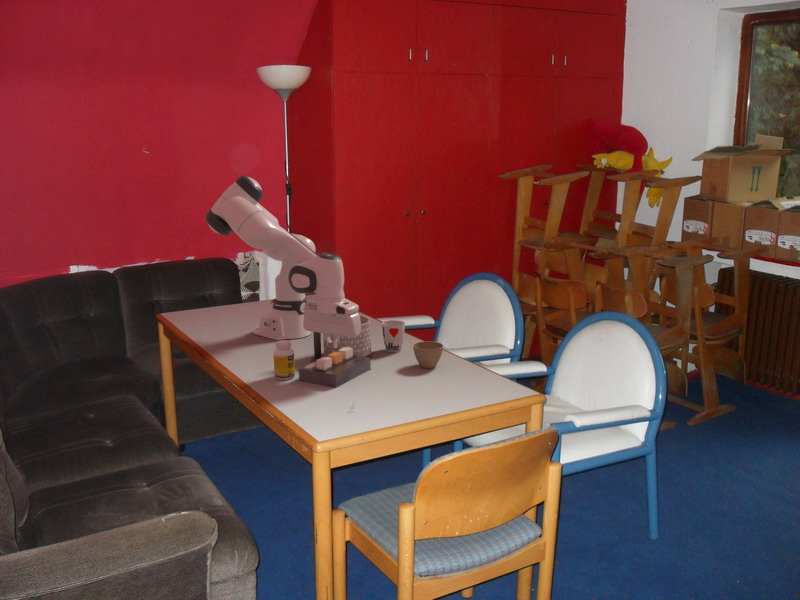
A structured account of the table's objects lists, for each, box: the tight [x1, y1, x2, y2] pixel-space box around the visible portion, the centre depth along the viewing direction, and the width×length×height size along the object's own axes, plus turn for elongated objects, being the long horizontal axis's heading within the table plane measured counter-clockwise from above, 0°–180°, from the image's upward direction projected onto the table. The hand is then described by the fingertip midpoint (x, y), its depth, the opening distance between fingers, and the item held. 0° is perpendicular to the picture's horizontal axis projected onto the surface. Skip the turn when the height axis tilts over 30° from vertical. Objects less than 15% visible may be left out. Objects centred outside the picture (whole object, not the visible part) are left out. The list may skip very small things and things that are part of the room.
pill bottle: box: [273, 339, 296, 381], centre depth 239 cm, size 6×6×12 cm
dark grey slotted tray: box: [298, 355, 372, 388], centre depth 242 cm, size 14×20×4 cm
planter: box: [322, 314, 372, 357], centre depth 261 cm, size 16×16×13 cm
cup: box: [381, 319, 406, 353], centre depth 267 cm, size 8×8×10 cm
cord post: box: [310, 332, 323, 363], centre depth 254 cm, size 5×5×16 cm
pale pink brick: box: [338, 347, 353, 359], centre depth 246 cm, size 3×4×3 cm
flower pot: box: [412, 340, 444, 369], centre depth 249 cm, size 10×10×7 cm
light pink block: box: [316, 356, 332, 370], centre depth 236 cm, size 3×4×3 cm
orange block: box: [328, 352, 343, 364], centre depth 241 cm, size 3×4×3 cm
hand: (332, 347), depth 241 cm, fingers closed
